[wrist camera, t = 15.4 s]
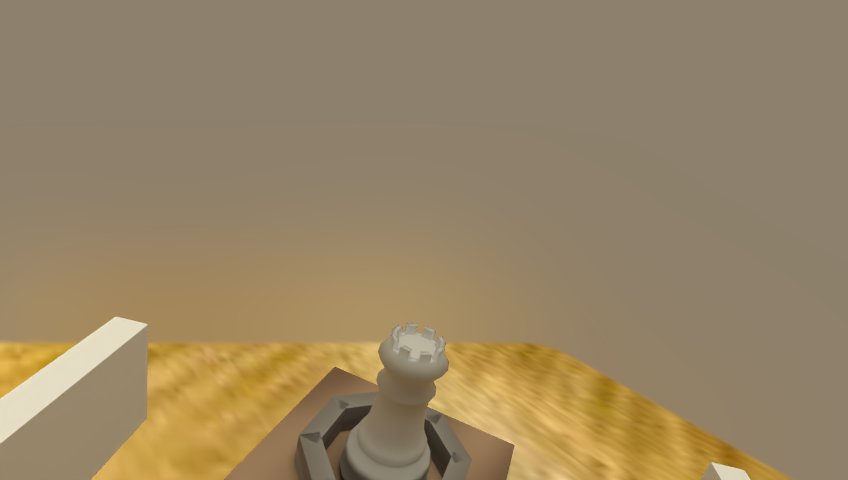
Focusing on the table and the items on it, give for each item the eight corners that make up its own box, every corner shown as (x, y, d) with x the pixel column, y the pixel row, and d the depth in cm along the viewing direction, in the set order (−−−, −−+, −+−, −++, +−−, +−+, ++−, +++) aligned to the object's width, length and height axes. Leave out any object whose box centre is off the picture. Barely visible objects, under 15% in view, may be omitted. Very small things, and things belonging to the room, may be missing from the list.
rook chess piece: (340, 434, 26) (369, 305, 23) (421, 444, 27) (458, 320, 24) (334, 508, 22) (368, 361, 19) (429, 516, 23) (475, 377, 20)
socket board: (508, 460, 29) (522, 423, 28) (454, 678, 18) (474, 630, 17) (331, 381, 32) (339, 345, 31) (192, 529, 21) (197, 480, 20)
